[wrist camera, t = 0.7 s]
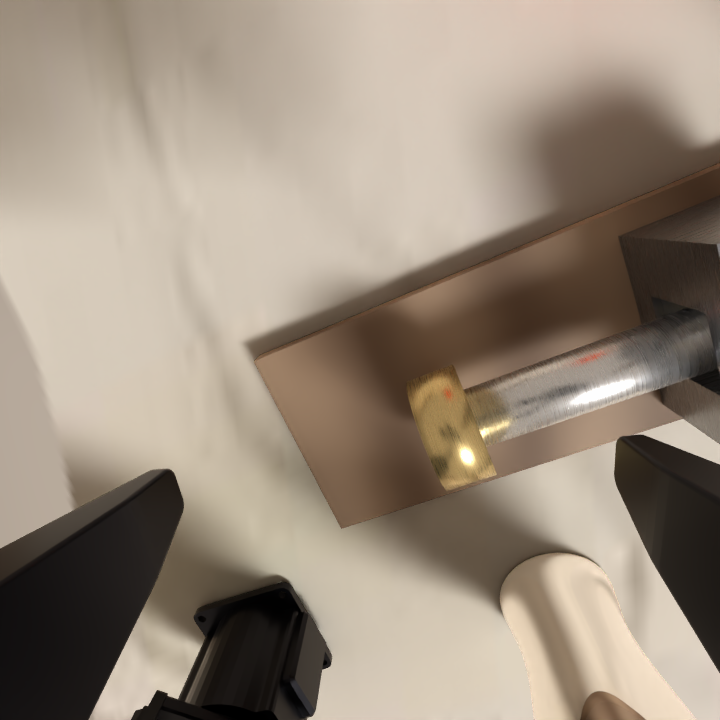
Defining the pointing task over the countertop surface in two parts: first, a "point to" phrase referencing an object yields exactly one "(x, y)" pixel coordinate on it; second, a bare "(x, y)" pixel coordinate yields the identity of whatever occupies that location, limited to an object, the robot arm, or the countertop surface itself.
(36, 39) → the countertop surface
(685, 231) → the bearing block
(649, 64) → the countertop surface
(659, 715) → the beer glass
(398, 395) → the base board
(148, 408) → the countertop surface
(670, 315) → the shaft
